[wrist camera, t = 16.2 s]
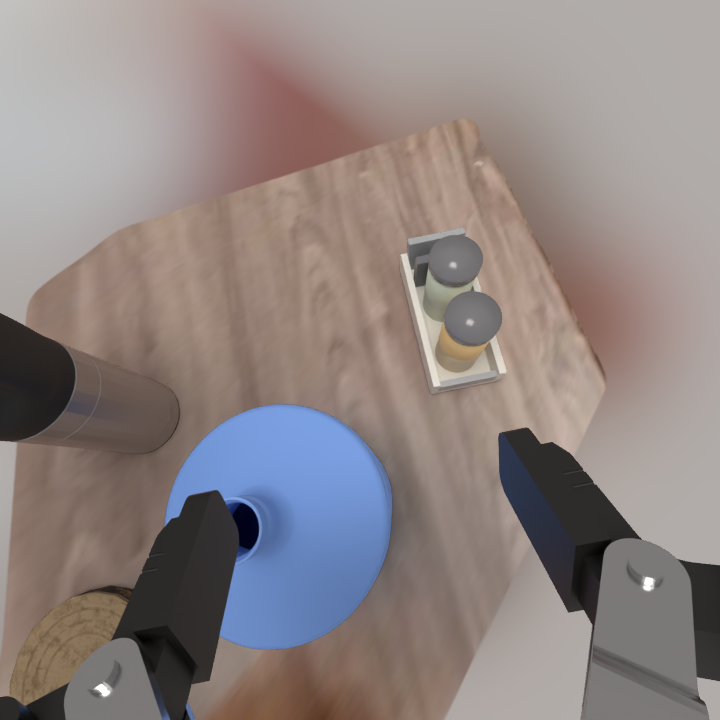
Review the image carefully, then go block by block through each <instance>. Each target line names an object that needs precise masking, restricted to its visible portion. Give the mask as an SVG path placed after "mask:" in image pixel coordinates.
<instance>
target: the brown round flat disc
mask: <svg viewBox="0 0 720 720" xmlns="http://www.w3.org/2000/svg"><path fill="white" fill-rule="evenodd" d="M132 592H133V589H129V588H123V587H116V586H109V587H104V588H100V589H95V590H91V591H88V592H85V593H83V594H80V595H77V596H74V597H72V598H70V599H69V600H67V601H65V602H64V603H62V604H60V605H58V606H57V607H55V608H53V609H52V610H50V612H49V613H48V614H47V615H46V616H45V617H44V618H43V619H42V620H41V621H40V622H39V623H38V624H37V625H36V626H35V627H34V628H33V629H32V631H31V633H30V635H29V636H28V638H27V640H26V642H25V643H24V645H23V647H22V649H21V650H20V652H19V654H18V657H17V661H16V664H15V667H14V671H13V674H12V678H11V681H10V697H13V698H15V699H17V700H18V701H19V702H20V703H22V704H23V705H24V706H26V705H27V704H29V703H31V702H33V701H35V700H37V699H39V698H41V697H43V696H44V695H46V694H48V693H50V692H52V691H54V690H56V689H58V688H60V687H62V686H63V685H65V684H67V683H69V682H70V681H71V679H72V677H73V676H74V674H75V672H76V671H77V670H78V668H79V667H80V666H81V664H82V663H83V662H84V661H85V660H86V659H87V658H88V657H89V656H90V655H91V654H92V653H93V652H94V651H95V650H97V649H98V648H100V647H101V646H102V645H104V644H106V643H108V642H110V641H111V639H112V637H113V635H114V633H115V631H116V629H117V626H118V624H119V622H120V619H121V617H122V615H123V613H124V610H125V608H126V606H127V603H128V601H129V599H130V597H131V594H132Z"/></svg>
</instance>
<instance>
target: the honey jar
mask: <svg viewBox="0 0 720 720" xmlns="http://www.w3.org/2000/svg"><path fill="white" fill-rule="evenodd" d="M501 323H502V313H501V310H500V307H499V306H498V304H497V303H496V301H495V300H494V299H492V298H491V297H490V296H488V295H486V294H484V293H481V292H477V291H468V292H463V293H461V294H458V295H457V296H455V297H454V298H453V299H452V300H451V301H450V302H449V304H448V306H447V308H446V311H445V314H444V321H443V324H442V327H441V331H440V334H439V337H438V340H437V343H436V347H435V357H436V360H437V361H438V363H439V364H440V365H441V366H442V367H443V368H444V369H446V370H448V371H451V372H464V371H466V370H468V369H470V368H471V367H472V366H473V365H474V364H475V362H476V361H477V359H478V358H479V356H480V355H481V353H482V352H483V350H484V349H485V347H486V346H487V344H488V343H489V341H490V340H491V339H492V338H493V337H494V336H495V334H496V333H497V332H498V330H499V328H500V326H501Z"/></svg>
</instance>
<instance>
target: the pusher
mask: <svg viewBox="0 0 720 720" xmlns="http://www.w3.org/2000/svg"><path fill="white" fill-rule="evenodd" d="M428 260H429V254H428V255H423V256H418V257H416V258H415V268H414V278H413V279H414V283H415V287H419V286H424V285H425V284H426V278H427V272H428Z"/></svg>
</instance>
